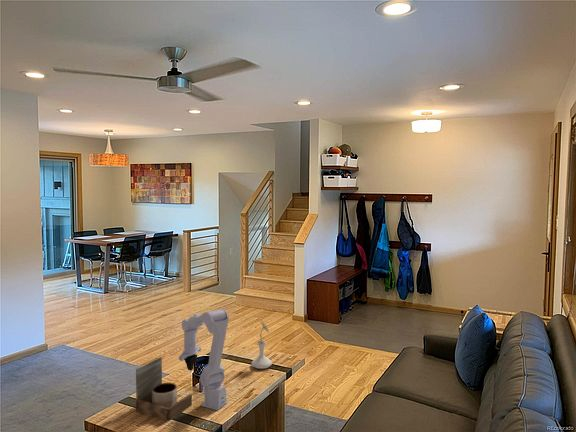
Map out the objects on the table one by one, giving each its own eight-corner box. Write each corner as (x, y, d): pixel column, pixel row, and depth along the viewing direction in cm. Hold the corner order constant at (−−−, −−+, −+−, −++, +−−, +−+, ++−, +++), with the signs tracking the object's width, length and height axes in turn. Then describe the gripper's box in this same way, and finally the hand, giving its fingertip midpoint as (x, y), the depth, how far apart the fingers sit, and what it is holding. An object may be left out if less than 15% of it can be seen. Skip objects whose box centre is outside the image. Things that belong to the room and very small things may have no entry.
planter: (171, 416, 182) (170, 394, 181) (147, 414, 183) (147, 392, 183) (181, 403, 193) (181, 383, 192) (158, 401, 194) (158, 381, 194)
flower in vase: (271, 370, 229) (271, 325, 228) (250, 370, 230) (250, 325, 228) (272, 361, 242) (272, 318, 241) (252, 361, 243) (252, 318, 241)
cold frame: (191, 405, 191) (191, 364, 190) (168, 421, 177) (168, 377, 177) (160, 396, 199) (160, 357, 198) (136, 411, 185) (135, 369, 184)
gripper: (193, 337, 215) (193, 363, 215) (173, 346, 202) (174, 373, 202) (204, 339, 212) (204, 365, 212) (185, 348, 199) (185, 376, 199)
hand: (190, 369), depth 207 cm, fingers closed
